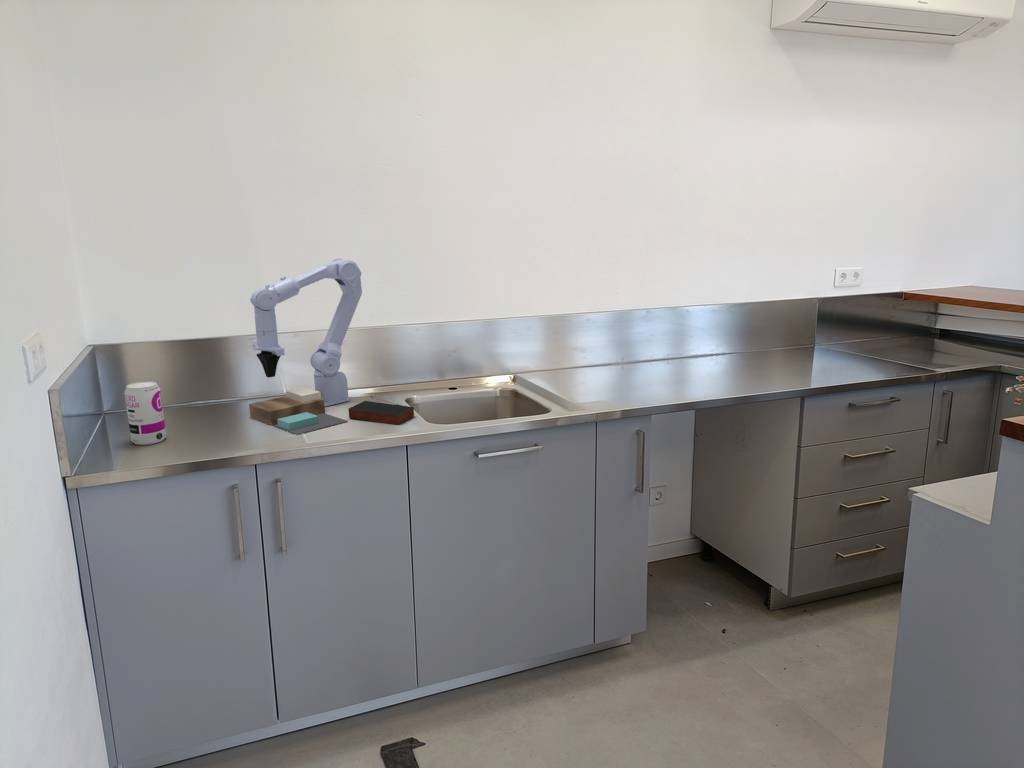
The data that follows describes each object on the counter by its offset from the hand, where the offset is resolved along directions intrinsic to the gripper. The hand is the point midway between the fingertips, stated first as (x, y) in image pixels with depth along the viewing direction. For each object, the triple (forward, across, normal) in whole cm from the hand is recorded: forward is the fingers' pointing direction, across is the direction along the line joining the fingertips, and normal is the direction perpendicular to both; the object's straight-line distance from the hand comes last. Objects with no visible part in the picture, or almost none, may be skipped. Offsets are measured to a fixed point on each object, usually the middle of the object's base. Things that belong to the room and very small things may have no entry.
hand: (270, 376), depth 213 cm
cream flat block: (+6, +7, +6) cm, 11 cm away
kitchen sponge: (+9, +30, +12) cm, 34 cm away
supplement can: (+11, +1, -36) cm, 38 cm away
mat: (+10, +20, 0) cm, 23 cm away
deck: (+10, +7, 0) cm, 13 cm away
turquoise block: (+8, +19, -3) cm, 21 cm away
